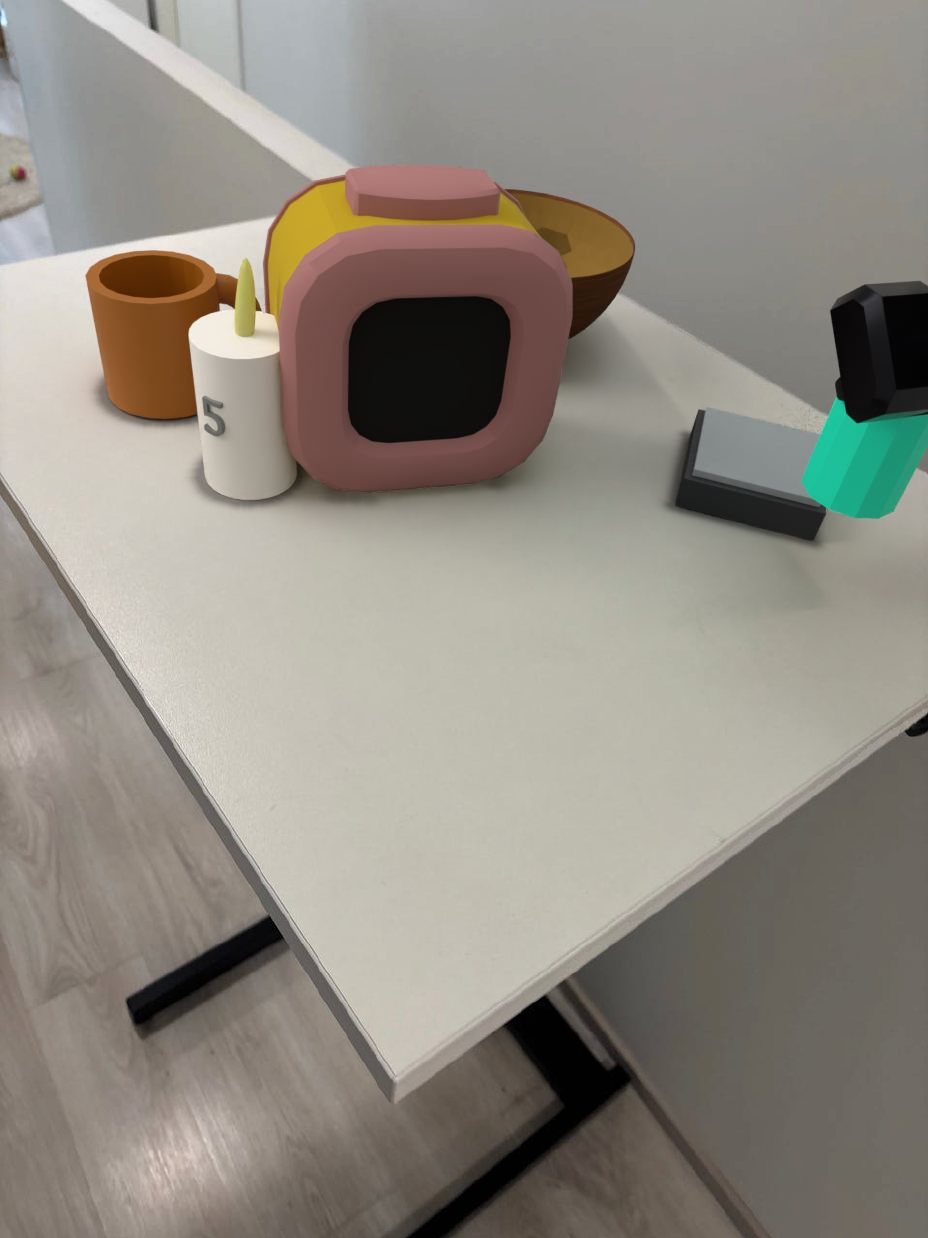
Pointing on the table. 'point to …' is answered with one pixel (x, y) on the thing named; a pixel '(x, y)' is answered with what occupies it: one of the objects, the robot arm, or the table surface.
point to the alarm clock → (414, 327)
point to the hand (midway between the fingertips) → (879, 386)
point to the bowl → (582, 250)
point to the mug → (153, 326)
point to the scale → (750, 473)
